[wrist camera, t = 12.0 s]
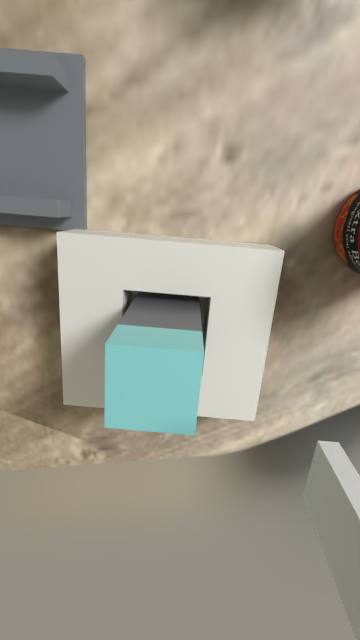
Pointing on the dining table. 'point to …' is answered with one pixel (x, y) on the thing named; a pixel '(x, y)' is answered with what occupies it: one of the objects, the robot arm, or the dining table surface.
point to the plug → (155, 365)
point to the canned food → (349, 233)
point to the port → (171, 278)
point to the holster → (42, 140)
